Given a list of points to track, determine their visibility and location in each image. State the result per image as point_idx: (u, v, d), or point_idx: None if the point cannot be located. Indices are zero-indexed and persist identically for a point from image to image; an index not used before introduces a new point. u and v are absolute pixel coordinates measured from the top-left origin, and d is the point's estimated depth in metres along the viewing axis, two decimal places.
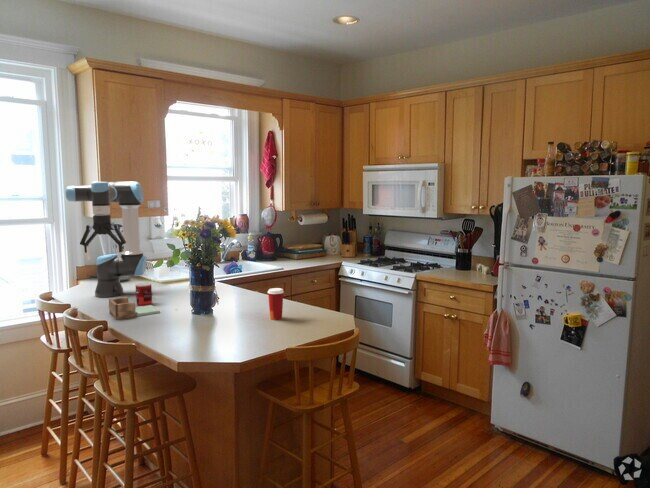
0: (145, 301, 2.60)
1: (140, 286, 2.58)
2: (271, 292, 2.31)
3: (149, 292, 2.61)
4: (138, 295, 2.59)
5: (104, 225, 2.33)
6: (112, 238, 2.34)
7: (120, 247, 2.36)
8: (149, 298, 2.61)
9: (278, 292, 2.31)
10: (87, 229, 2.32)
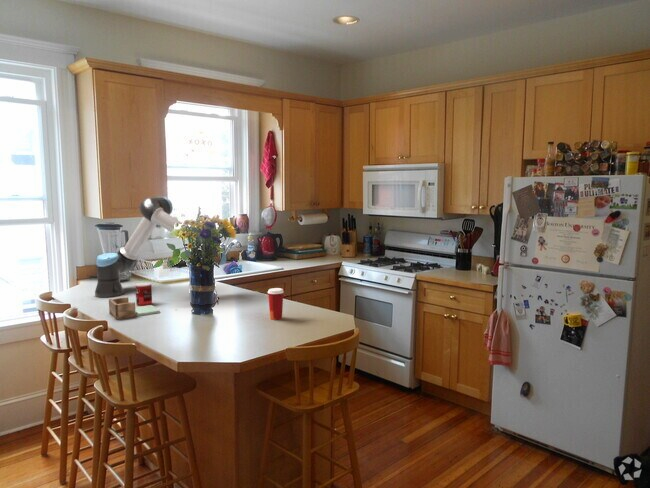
0: (145, 301, 2.60)
1: (140, 286, 2.58)
2: (271, 292, 2.31)
3: (149, 292, 2.61)
4: (138, 295, 2.59)
5: None
6: None
7: None
8: (149, 298, 2.61)
9: (278, 292, 2.31)
10: None
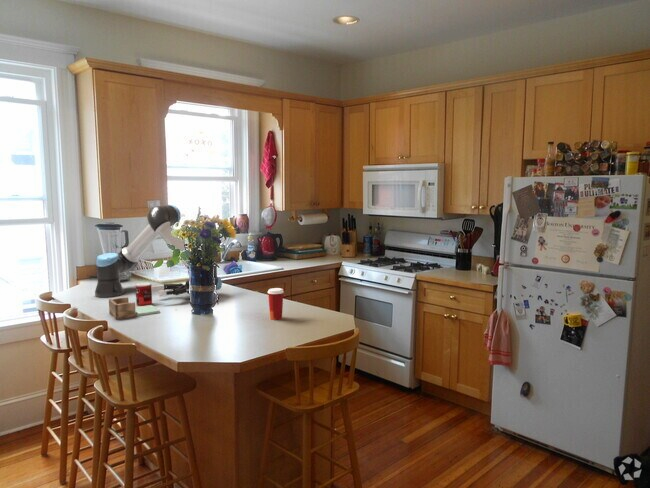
0: (145, 301, 2.60)
1: (140, 286, 2.58)
2: (271, 292, 2.31)
3: (149, 292, 2.61)
4: (138, 295, 2.59)
5: None
6: (171, 289, 2.75)
7: None
8: (149, 298, 2.61)
9: (278, 292, 2.31)
10: None
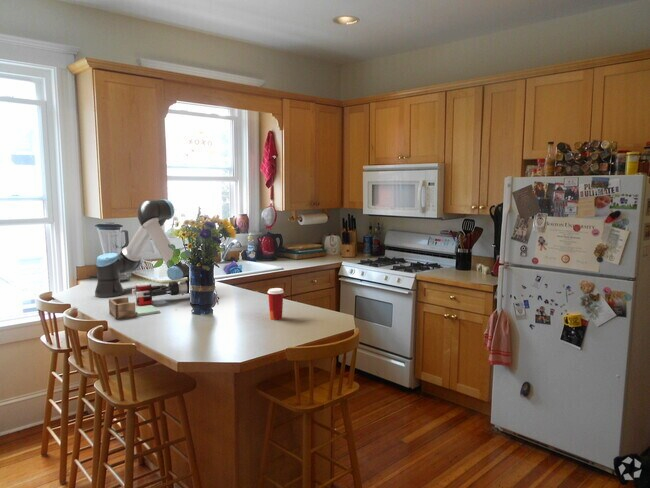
0: (145, 301, 2.60)
1: (140, 286, 2.58)
2: (271, 292, 2.31)
3: None
4: None
5: None
6: None
7: None
8: (149, 298, 2.61)
9: (278, 292, 2.31)
10: None
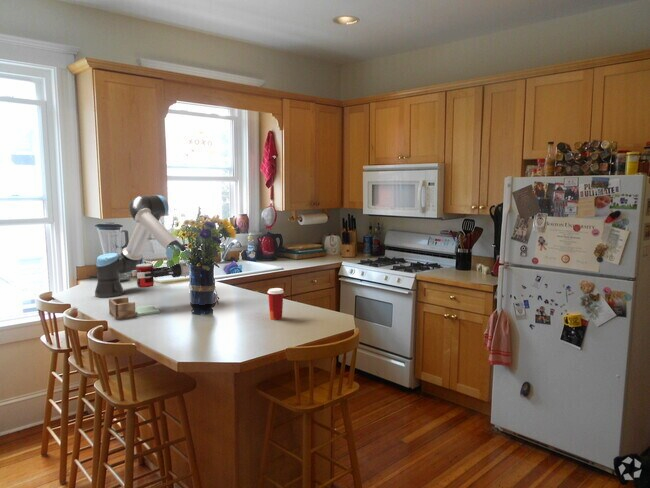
0: (146, 283, 2.48)
1: (141, 267, 2.47)
2: (271, 292, 2.31)
3: None
4: None
5: None
6: None
7: None
8: (151, 279, 2.50)
9: (278, 292, 2.31)
10: None
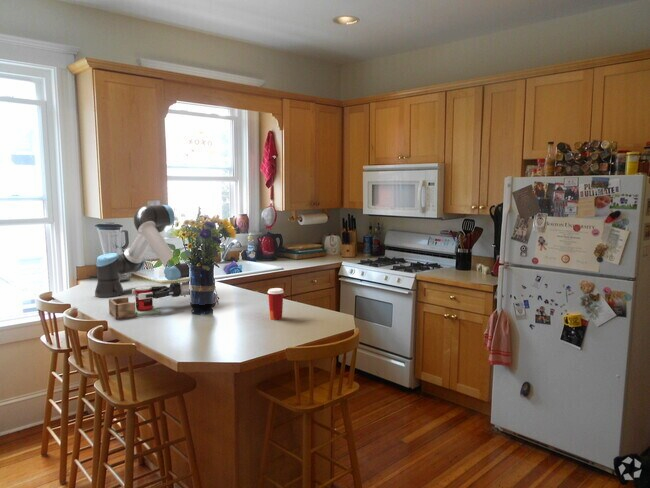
0: (145, 306, 2.45)
1: (140, 290, 2.43)
2: (271, 292, 2.31)
3: None
4: None
5: None
6: None
7: None
8: (150, 303, 2.46)
9: (278, 292, 2.31)
10: None
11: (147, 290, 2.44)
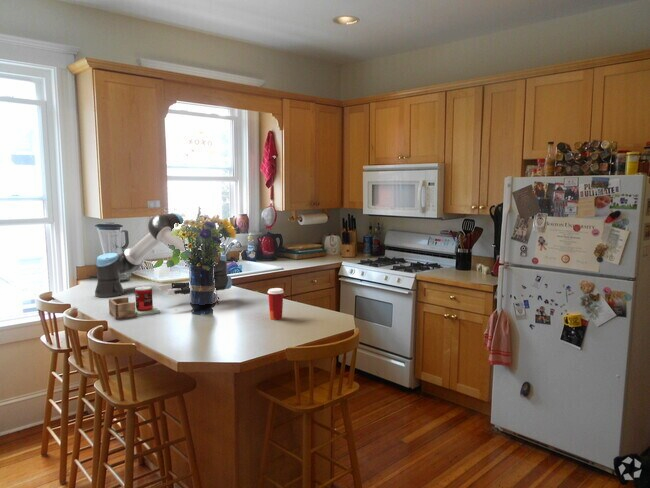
0: (145, 306, 2.45)
1: (140, 290, 2.43)
2: (271, 292, 2.31)
3: (150, 296, 2.46)
4: (138, 299, 2.44)
5: None
6: (179, 288, 2.62)
7: None
8: (150, 303, 2.46)
9: (278, 292, 2.31)
10: None
11: (147, 290, 2.44)
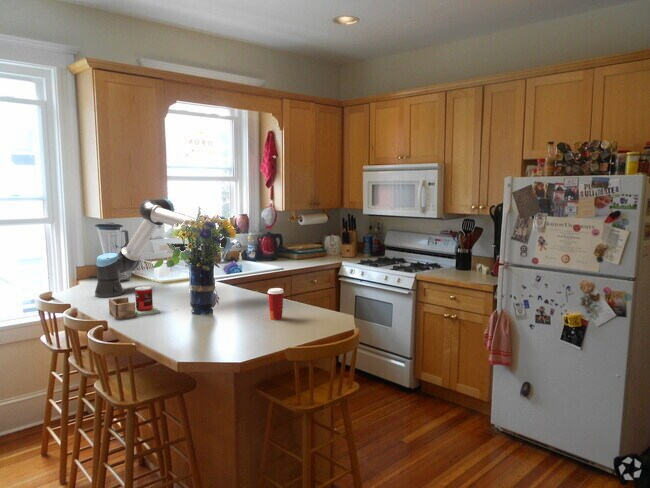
0: (145, 306, 2.45)
1: (140, 290, 2.43)
2: (271, 292, 2.31)
3: (150, 296, 2.46)
4: (138, 299, 2.44)
5: None
6: None
7: None
8: (150, 303, 2.46)
9: (278, 292, 2.31)
10: None
11: (147, 290, 2.44)
